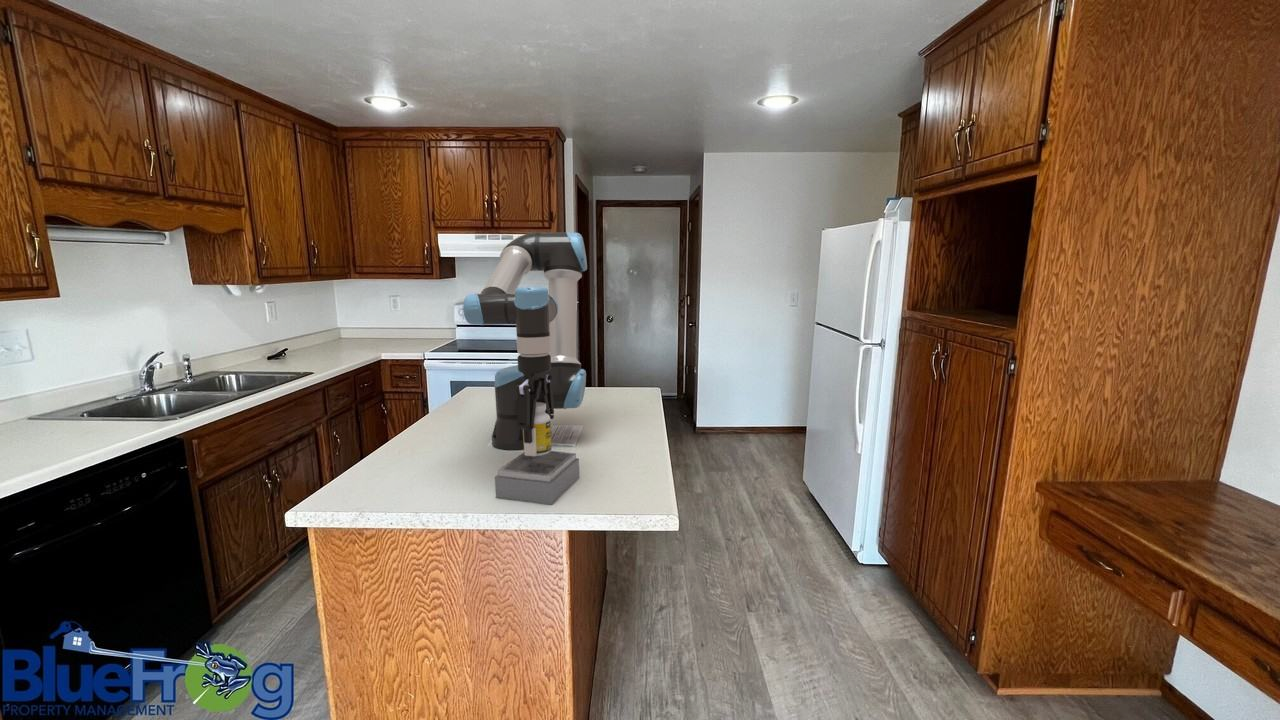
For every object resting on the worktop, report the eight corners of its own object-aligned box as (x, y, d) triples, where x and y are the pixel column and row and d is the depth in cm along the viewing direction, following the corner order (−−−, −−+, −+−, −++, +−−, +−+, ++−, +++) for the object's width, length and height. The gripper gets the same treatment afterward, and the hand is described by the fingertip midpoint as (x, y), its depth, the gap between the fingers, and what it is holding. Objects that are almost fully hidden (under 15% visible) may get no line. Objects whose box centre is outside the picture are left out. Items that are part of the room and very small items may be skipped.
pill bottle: (545, 457, 120) (543, 408, 118) (519, 455, 122) (517, 407, 120) (555, 448, 127) (553, 401, 125) (530, 446, 128) (528, 400, 126)
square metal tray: (522, 471, 136) (521, 447, 135) (579, 477, 131) (578, 453, 130) (488, 496, 121) (486, 469, 120) (551, 504, 116) (550, 477, 115)
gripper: (538, 347, 131) (542, 436, 134) (496, 360, 112) (502, 462, 116) (566, 348, 128) (569, 439, 132) (528, 361, 110) (532, 466, 114)
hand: (537, 450), depth 124 cm, fingers closed on pill bottle, 6 cm apart
